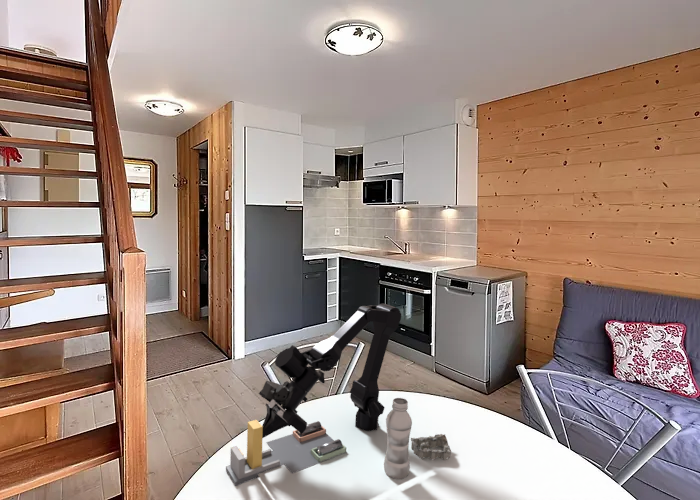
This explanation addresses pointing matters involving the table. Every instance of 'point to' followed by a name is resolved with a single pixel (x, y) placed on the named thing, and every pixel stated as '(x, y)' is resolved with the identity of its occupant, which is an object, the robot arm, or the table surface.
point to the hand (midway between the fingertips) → (260, 436)
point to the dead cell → (311, 429)
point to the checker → (282, 455)
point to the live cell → (329, 447)
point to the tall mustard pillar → (254, 444)
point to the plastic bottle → (398, 440)
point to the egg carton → (432, 442)
